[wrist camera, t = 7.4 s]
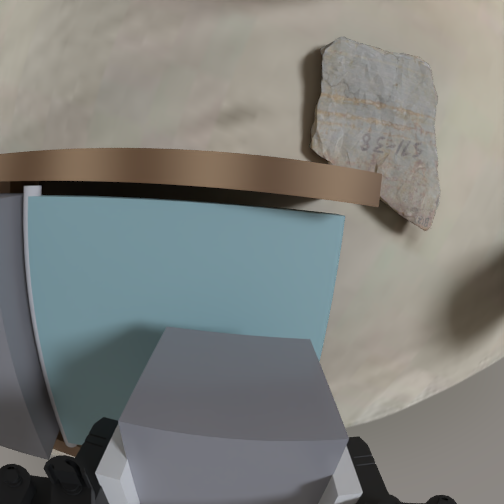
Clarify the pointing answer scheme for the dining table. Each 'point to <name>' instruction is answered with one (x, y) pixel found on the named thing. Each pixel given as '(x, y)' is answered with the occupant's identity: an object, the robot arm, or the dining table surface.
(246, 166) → the brown open boxy piece
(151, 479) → the block
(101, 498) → the robot arm
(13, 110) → the dining table surface
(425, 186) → the stone
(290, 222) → the trapdoor
